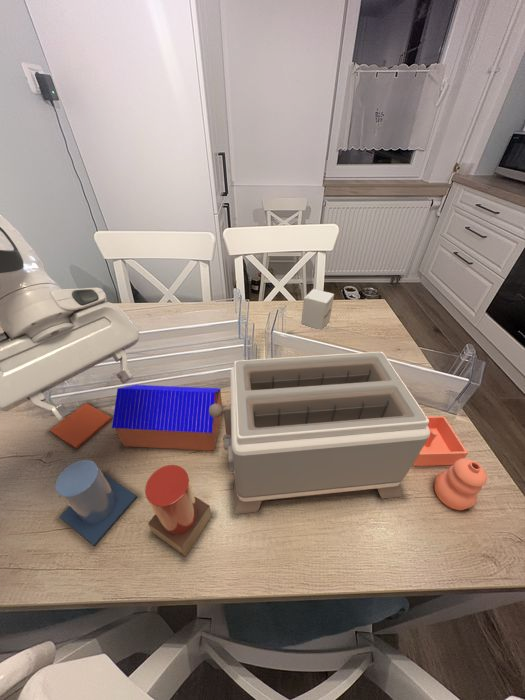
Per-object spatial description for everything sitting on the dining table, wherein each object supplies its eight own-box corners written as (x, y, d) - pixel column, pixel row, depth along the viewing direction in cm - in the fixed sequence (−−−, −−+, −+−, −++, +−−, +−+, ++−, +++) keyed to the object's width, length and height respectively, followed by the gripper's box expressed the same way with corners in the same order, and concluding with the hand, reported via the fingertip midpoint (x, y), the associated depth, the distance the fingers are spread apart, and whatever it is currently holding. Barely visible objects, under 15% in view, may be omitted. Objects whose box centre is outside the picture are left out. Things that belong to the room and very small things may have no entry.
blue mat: (94, 546, 48) (93, 545, 47) (60, 517, 51) (59, 516, 51) (137, 497, 54) (136, 495, 53) (104, 474, 57) (103, 473, 57)
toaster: (218, 426, 66) (208, 357, 54) (364, 414, 69) (387, 346, 56) (216, 516, 51) (202, 450, 39) (402, 496, 54) (446, 428, 41)
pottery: (395, 428, 66) (409, 399, 60) (436, 427, 66) (454, 398, 60) (435, 512, 52) (458, 485, 46) (487, 511, 52) (517, 484, 46)
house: (215, 452, 61) (209, 416, 54) (121, 447, 62) (103, 411, 55) (224, 407, 71) (219, 372, 63) (142, 404, 71) (129, 368, 64)
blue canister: (95, 531, 49) (71, 504, 43) (72, 512, 51) (46, 484, 45) (124, 498, 53) (106, 470, 47) (102, 483, 55) (81, 453, 49)
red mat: (76, 448, 62) (75, 447, 61) (50, 431, 65) (49, 430, 65) (112, 418, 68) (111, 417, 67) (86, 404, 71) (85, 402, 71)
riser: (185, 556, 47) (181, 547, 44) (153, 533, 49) (147, 523, 47) (212, 515, 51) (209, 505, 49) (181, 496, 54) (177, 485, 51)
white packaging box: (320, 338, 93) (326, 303, 85) (299, 331, 96) (303, 297, 88) (329, 327, 98) (335, 293, 90) (308, 321, 101) (312, 287, 93)
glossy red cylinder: (181, 542, 45) (168, 514, 38) (152, 522, 47) (135, 492, 41) (205, 506, 49) (197, 476, 42) (177, 489, 51) (166, 458, 45)
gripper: (-63, 346, 33) (14, 446, 34) (111, 284, 45) (162, 358, 46) (-47, 360, 38) (20, 446, 39) (105, 300, 50) (152, 367, 51)
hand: (98, 398), depth 43 cm, fingers open, 8 cm apart
